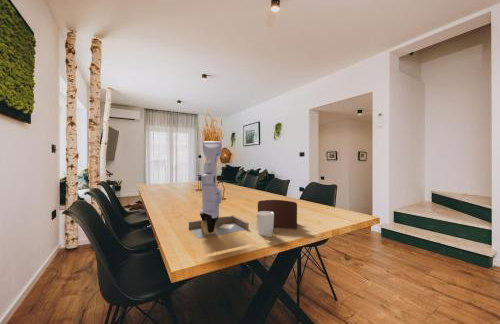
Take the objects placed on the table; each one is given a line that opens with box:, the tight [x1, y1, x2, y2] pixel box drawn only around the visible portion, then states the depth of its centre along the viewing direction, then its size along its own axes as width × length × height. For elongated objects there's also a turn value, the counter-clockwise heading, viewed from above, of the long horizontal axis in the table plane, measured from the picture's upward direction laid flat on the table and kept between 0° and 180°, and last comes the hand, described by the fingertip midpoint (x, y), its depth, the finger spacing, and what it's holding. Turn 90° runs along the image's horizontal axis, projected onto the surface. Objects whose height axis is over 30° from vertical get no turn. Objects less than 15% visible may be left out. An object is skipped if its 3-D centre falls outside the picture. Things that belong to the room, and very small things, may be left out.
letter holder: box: [257, 199, 298, 230], centre depth 113 cm, size 10×20×14 cm, turn 80°
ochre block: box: [201, 220, 216, 235], centre depth 97 cm, size 5×5×5 cm
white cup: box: [256, 211, 274, 238], centre depth 97 cm, size 8×8×10 cm
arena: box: [188, 215, 250, 239], centre depth 103 cm, size 16×24×4 cm, turn 121°
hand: (208, 230), depth 97 cm, fingers closed on ochre block, 5 cm apart
